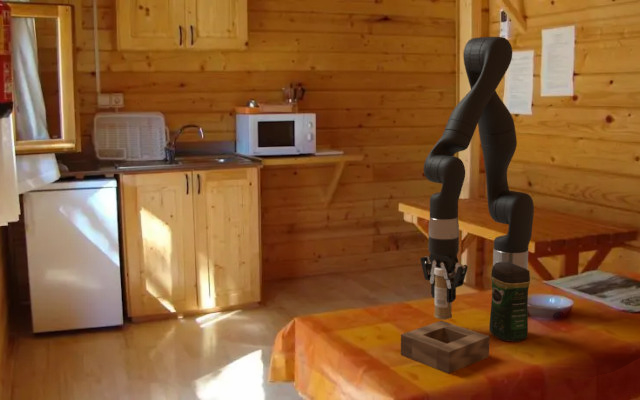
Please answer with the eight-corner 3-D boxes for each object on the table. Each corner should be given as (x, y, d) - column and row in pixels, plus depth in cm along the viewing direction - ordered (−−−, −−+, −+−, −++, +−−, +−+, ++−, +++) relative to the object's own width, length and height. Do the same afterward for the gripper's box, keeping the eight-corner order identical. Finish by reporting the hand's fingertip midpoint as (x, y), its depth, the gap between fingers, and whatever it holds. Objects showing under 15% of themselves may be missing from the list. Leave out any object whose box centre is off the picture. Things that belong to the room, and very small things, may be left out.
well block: (441, 339, 180) (441, 320, 179) (488, 356, 169) (489, 336, 168) (400, 354, 170) (400, 334, 169) (448, 373, 160) (449, 352, 159)
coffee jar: (533, 340, 179) (536, 267, 175) (504, 344, 176) (507, 270, 173) (511, 327, 188) (514, 257, 184) (484, 331, 185) (486, 260, 182)
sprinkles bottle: (455, 316, 187) (456, 266, 184) (444, 321, 183) (445, 270, 181) (440, 312, 190) (441, 263, 187) (430, 317, 187) (430, 266, 184)
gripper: (475, 236, 179) (474, 302, 183) (432, 227, 190) (431, 290, 193) (456, 241, 175) (455, 309, 178) (412, 232, 185) (412, 296, 189)
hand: (443, 299), depth 186 cm, fingers closed on sprinkles bottle, 4 cm apart
